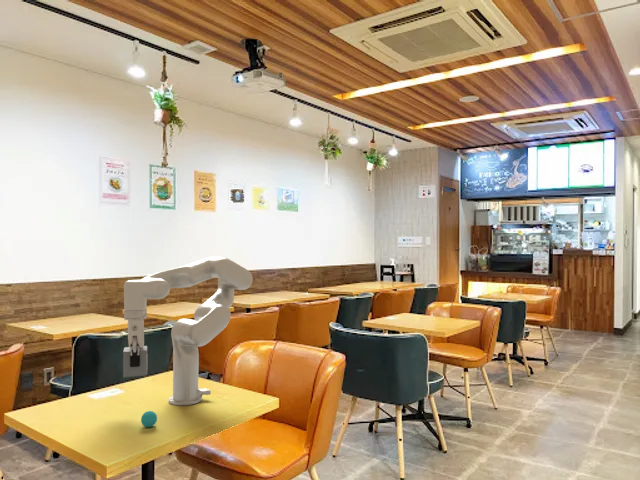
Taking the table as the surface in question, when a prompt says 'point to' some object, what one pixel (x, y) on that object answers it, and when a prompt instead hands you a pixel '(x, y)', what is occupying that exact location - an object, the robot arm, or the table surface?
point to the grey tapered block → (135, 371)
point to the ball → (149, 418)
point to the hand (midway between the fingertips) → (135, 363)
